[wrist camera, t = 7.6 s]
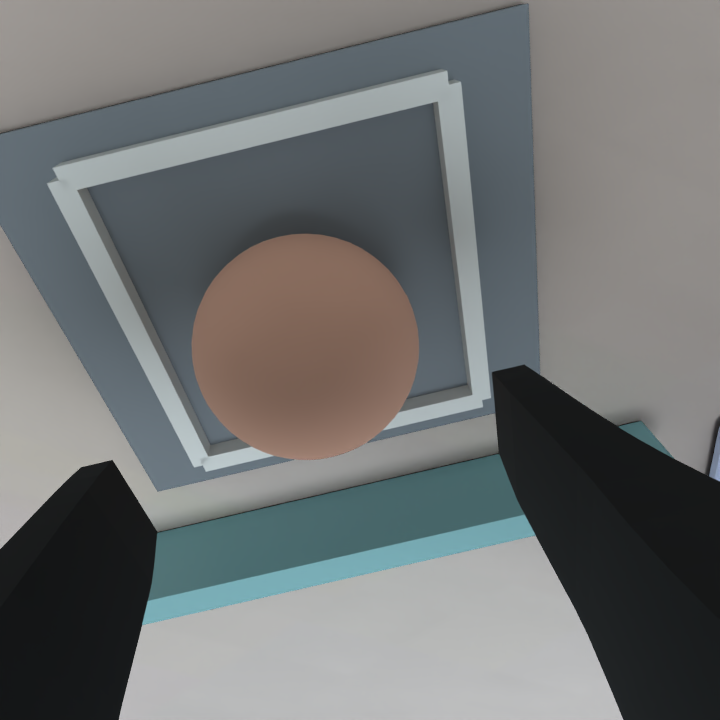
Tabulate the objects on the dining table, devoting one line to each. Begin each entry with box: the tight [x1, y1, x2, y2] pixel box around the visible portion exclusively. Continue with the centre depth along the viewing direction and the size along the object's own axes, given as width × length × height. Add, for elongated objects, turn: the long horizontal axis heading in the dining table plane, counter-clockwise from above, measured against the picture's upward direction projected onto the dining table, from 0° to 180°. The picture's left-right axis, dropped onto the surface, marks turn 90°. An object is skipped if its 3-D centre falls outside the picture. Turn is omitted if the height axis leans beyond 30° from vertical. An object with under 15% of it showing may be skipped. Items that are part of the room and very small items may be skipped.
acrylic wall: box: [142, 421, 674, 625], centre depth 20 cm, size 20×1×3 cm, turn 102°
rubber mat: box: [0, 4, 540, 491], centre depth 16 cm, size 14×12×1 cm
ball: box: [191, 234, 419, 460], centre depth 14 cm, size 6×6×6 cm
